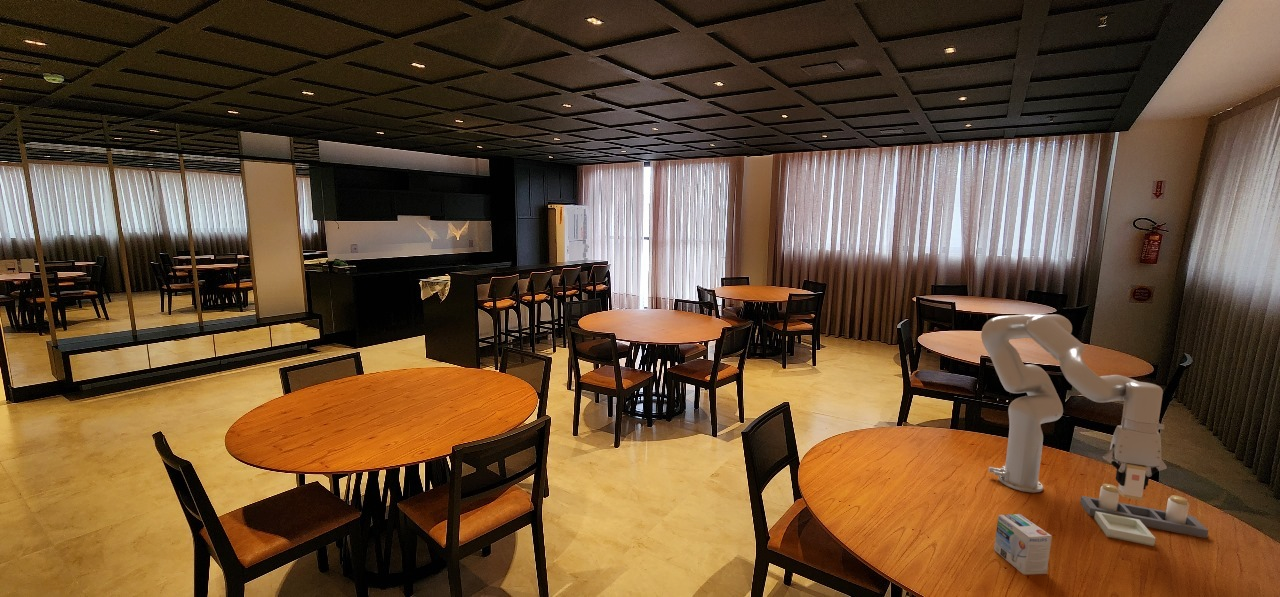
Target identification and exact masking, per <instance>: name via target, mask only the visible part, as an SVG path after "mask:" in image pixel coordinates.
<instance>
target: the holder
mask: <svg viewBox="0 0 1280 597" xmlns="http://www.w3.org/2000/svg"><path fill="white" fill-rule="evenodd" d="M1079 503H1080V505H1081V506H1082V508H1083V509H1084V511H1085V512H1086V513H1087V514H1088V516H1091V517H1095V511H1097V512H1102V513H1107V514H1113V515H1118V516H1123V517H1128V518H1134V519H1139V520H1140V521H1141V522H1142V523H1143V524H1144V525H1145V527H1146V528H1152V529H1157V530H1161V531H1167V532H1173V533H1179V534H1182V535H1188V536H1193V537H1198V538H1203V539H1208V534H1209V529H1208V528H1206V527H1205V525H1203V523H1201V522H1200V521H1199V520H1198V519H1197V518H1196V517H1195V516H1193V515H1191V514H1187V520H1186V524H1181V523H1175V522H1170V521H1165V515H1166V510H1162V509H1155V508H1150V507H1145V506H1139V505H1135V504H1129V503H1124V502H1119V501H1118V506H1117V511H1112V510H1106V509H1101V508H1098V503H1099V498H1096V497H1090V496H1086V495H1080V500H1079Z"/></svg>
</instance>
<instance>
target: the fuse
mask: <svg viewBox="0 0 1280 597" xmlns="http://www.w3.org/2000/svg"><path fill="white" fill-rule="evenodd" d="M1146 471H1147V467H1146V466H1142V465H1136V464H1129V463H1127V464H1126V468H1125V473H1126V477H1125V484H1124V486H1121V485H1120V484H1119V483H1118V492H1119V495H1120V496H1122V498H1126V499H1130V500H1136V501H1143V499H1144V498H1143V496H1144V495H1143V493H1144V489H1143V488H1144V481H1145V474H1146Z"/></svg>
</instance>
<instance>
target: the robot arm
mask: <svg viewBox="0 0 1280 597" xmlns="http://www.w3.org/2000/svg"><path fill="white" fill-rule="evenodd" d="M1072 332H1073V325H1072V323H1071V321H1070V320H1069V319H1068V318H1066V317H1065V316H1063V315H1061V314H1057V313H1055V314H1015V315H1012V314H1011V315H1008V314H1007V315H1000V316H996V317H992V318H990V319H988V320H987V321H986V322H985V323H984V325H983V326H982V329H981V333H980V334H981V335H980V336H981V338H980V339H981V341H982V344H983V346H984V348H985V350H986V352H987V353H988V356H989V358H990V360H991V362H992V365H993V368H994V369H995V372H996V374H997V376H998V378H999V381H1000V383H1001V385H1002V386H1003V388H1004V390H1005V391H1006V392H1009V393H1011V394H1024V393H1026V394H1027V396H1026V395H1024V396H1020V397H1017V398H1015V399H1014V400H1012V401H1011V402H1010V404H1009V406H1008V410H1007V412H1008V413H1007V414H1008V419H1009V420H1008V421H1009V422H1008V424H1009V426H1008V428H1009V430H1008V438H1007V439H1008V441H1007V446H1006V447H1007V449H1006V456H1005V458H1006V459H1005V463H1004V465H1002V467H999V468H998V467H994V466H988V473H992V474H993V475H994V476H998V481H999V482H1000V483H1001V484H1003V485H1004V486H1007V487H1008V488H1011V489H1013V490H1016V491H1020V492H1024V493H1025V492H1026V493H1034V494H1035V493H1036V494H1037V493H1040V492H1042V491H1043V490H1044V485H1043V484H1042V483H1041V482H1040V481H1039V476H1040V470H1041V461H1042V460H1041V459H1042V455H1043V454H1042V451H1043V442H1044V434H1043V430H1042V427H1041V425H1042V424H1045V423H1052V422H1057V421H1058V420H1059V419H1060V418H1061V417H1062V416H1063V413H1064V407H1063V403H1062V401H1061V399H1060V397H1059V394H1058V393H1057V390H1056V388H1055V386H1054V384H1053V382H1052V380H1051V377H1050V376H1049V374H1048V373H1047V371H1045V370H1044V369H1043V368H1042V367H1041V366H1039V365H1036V364H1030V363H1029V364H1024V361H1023V360H1022V358H1021V356H1020V353H1019V352H1018V350H1017V349H1016V347H1014V346H1013V344H1011V342H1010V340H1018V339H1019V340H1020V339H1032V340H1034V342H1036V344H1038V345H1039V346H1040V347H1041V348H1043V349H1044V350H1045V351H1046V352H1047V353H1048V354H1049V355H1050V356H1051V357H1052V358H1054V359H1055V360H1056V361H1057V362H1058V364H1059V368H1060V370H1061V372H1062V375H1063V376H1064V378H1065V379H1066V381H1067V382H1068V383H1069V384H1070V385H1071V386H1072V387H1073V388H1074V389H1076V390H1077V392H1079V393H1080V394H1081V395H1083V396H1084V397H1085V398H1086V399H1088V400H1091V402H1095V403H1099V404H1100V403H1110V402H1119V401H1120V402H1123V401H1124V402H1123V408H1122V417H1121V424H1120V425H1117V426H1116V428H1115V430H1114V432H1113V436H1112V438H1111V442H1110V445H1109V450H1108V451H1107V452H1106V453H1105V454H1103V455H1102V458H1103V459H1104V460H1105V461H1106V462H1108V463H1109V464H1111V465H1112V466H1113V467H1114V468H1115V469H1116V474H1115V480H1116V482H1117V483H1118V485H1119V484H1120V485H1121V486H1124V484H1125V477H1126V473H1125V468H1126V464H1127V463H1129V464H1136V465H1142V466H1146V467H1147V471H1146V474H1145V481H1144V488H1143V490H1146V489H1147V488H1146V487H1148V486H1149V481H1150V480H1149V479H1150V477H1152V475H1154V474H1156V473H1158V472H1159V471H1164V470H1166V469H1167V468H1168V466H1167V465H1166V464H1165V462H1164V460H1163V459H1162V440H1161V433H1160V432H1159V430H1165V424H1164V423H1163V424H1162V423H1160V421H1159V420H1160V416H1161V415H1160V414H1161V408H1162V401H1163V394H1164V392H1163V391H1164V390H1163V389H1162V387H1161V386H1159V385H1157V384H1156V383H1151V382H1145V381H1138V380H1135V379H1133V378H1131V377H1128V376H1126V375H1125V376H1124V375H1120V374H1110V375H1101V376H1099V375H1098V374H1097V373H1095V372H1094V371H1093V370H1092V369H1091V368H1090V367H1089V366H1088V365H1087V364H1086V363H1085V362H1084V360H1083V357H1082V355H1083V353H1085V350H1086V349H1085V347H1086V346H1085V345H1084V343H1082V341H1080V340H1079V339H1078V338H1077V337H1075V336H1074V335H1073V334H1072ZM1113 458H1114V459H1113Z"/></svg>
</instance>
